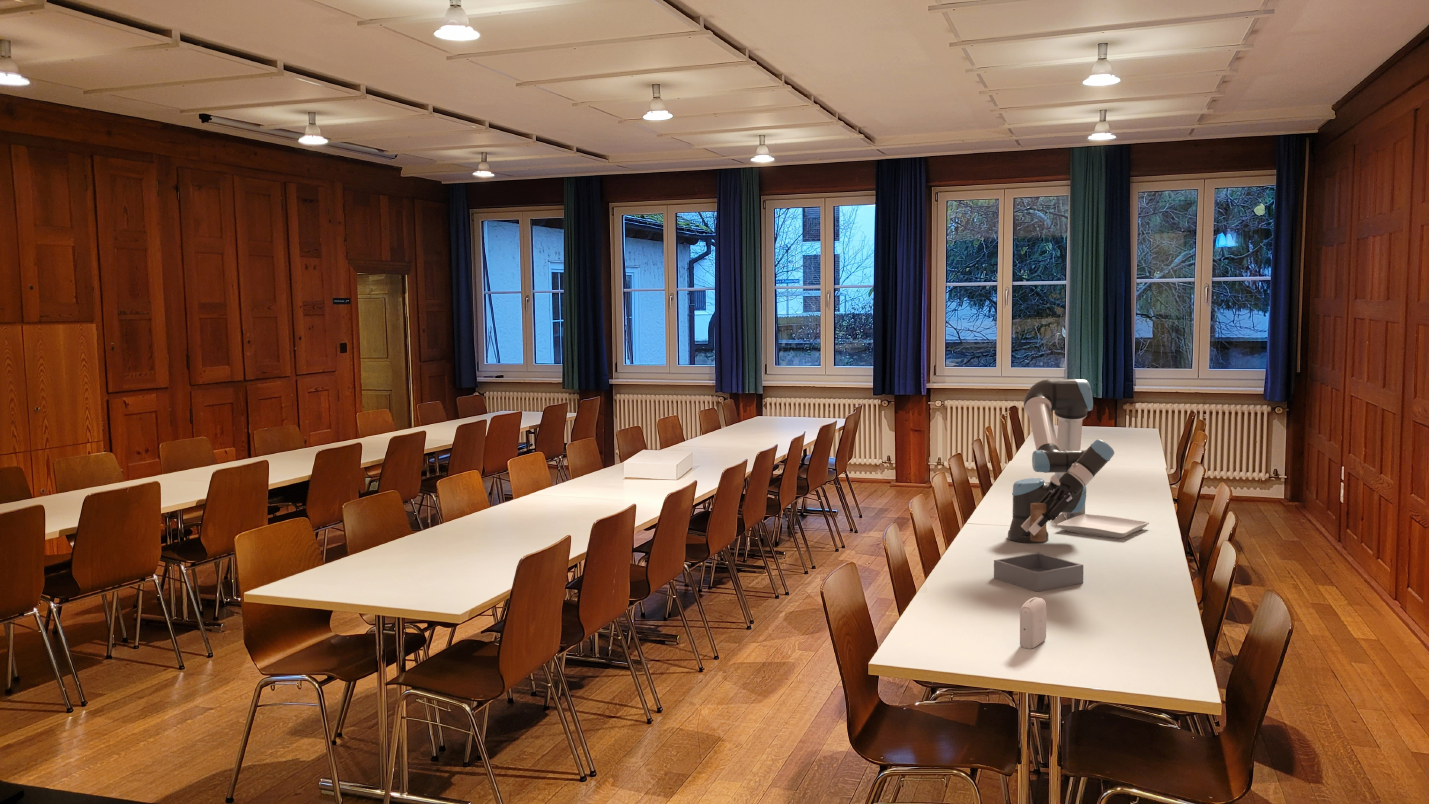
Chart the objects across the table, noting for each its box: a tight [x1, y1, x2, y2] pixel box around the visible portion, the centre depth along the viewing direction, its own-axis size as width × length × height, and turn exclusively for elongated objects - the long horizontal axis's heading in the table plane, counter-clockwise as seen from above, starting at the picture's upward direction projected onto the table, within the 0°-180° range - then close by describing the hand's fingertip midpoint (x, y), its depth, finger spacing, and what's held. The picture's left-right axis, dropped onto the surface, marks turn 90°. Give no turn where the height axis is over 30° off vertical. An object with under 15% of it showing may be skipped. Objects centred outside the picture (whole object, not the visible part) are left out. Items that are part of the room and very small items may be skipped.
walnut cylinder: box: [1030, 503, 1047, 543], centre depth 338 cm, size 5×5×12 cm
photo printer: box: [1019, 597, 1047, 650], centre depth 277 cm, size 10×4×12 cm, turn 140°
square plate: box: [1056, 513, 1150, 539], centre depth 409 cm, size 27×27×4 cm
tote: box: [993, 552, 1084, 593], centre depth 339 cm, size 20×20×6 cm
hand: (1027, 530), depth 337 cm, fingers closed on walnut cylinder, 5 cm apart
